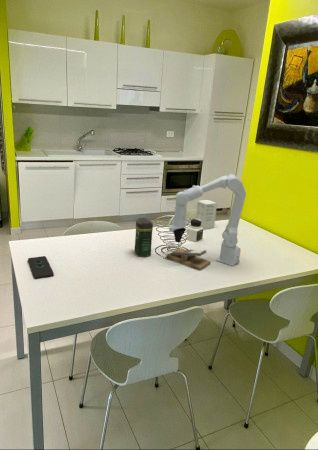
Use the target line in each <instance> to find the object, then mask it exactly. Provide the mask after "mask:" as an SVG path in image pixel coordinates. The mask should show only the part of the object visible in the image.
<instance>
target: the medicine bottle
mask: <svg viewBox="0 0 318 450" xmlns="http://www.w3.org/2000/svg"><path fill="white" fill-rule="evenodd" d="M190 229H191V231H190ZM187 231H189V232H187ZM186 235H189V236H188V238H187V239H186V240H189V241H191V242H194V243H197V242H199V241H201V240H203V236H204V229H203V228H202V227H201V220H199V219H196V218H192V219H190V225H189V226H187V228H186Z"/></svg>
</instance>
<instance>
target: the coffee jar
mask: <svg viewBox="0 0 318 450" xmlns="http://www.w3.org/2000/svg"><path fill="white" fill-rule="evenodd" d="M153 229H154V223H153V222H152V220H150V219H148V218H147V217H138V218H137V219H136V221H135V236H134V237H135V238H134V239H135V240H134V253H135V254H136V255H137V256H138V257H142V258H143V257H144V258H145V257H149V256H151V254H152V242H153V240H152V239H153Z"/></svg>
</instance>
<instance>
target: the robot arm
mask: <svg viewBox="0 0 318 450" xmlns="http://www.w3.org/2000/svg"><path fill="white" fill-rule="evenodd" d="M218 188H221V189H227V188H228V189H229V190H230V191H232V192H233V194H234V198H233V201H232V206H231V211H230V214H229V218H228V222H227V225H226V226H225V229H224V230H223V231H222V233H221V234H222V235H221V236H222V239H223V240H222V241H221V244H220V245H221V246H220V254H219V257H218V258H216V261H217V262H219V263H222V264H225V265H227V266H232V267H234V266H235V265H237V264H238V263H239V262H240V257H241V247H239V246H238V245H237V244H238V242H239V241H238V235H239V234H238V228H239V227H238V226H239V224H240V220H241V215H242V211H243V208H244V203H245V201H246V196H247V192H246V189H245V186H244V184H243V182H242V181H241V179H240V178H238V176H237V175H236V174H234V173H228V174H227V175H222V176H220V177H218V178H216V179H214V180H212V181H210V182H208V183H206V184H204V185H202V186H200V185H195V184H193V185H192V187H190V188H188V189H184V190H183V191H178V192H177V193H176V195H175V206H174V217H173V221H172V222H171V226H170V227H169V228H168V231H169V232H171V233H173V236H174V239H175V240H174V241H175V243H181V241H182V237H183V235H184V233H185V232H187V228H186V227H189V226H190V225H189V223H190V222H189V221H187V220H186V219H187V217H186V216H187V210H188V208H187V207H188V206H187V204H188V203H189V202H191V201H194V200H196V199H197V200H198V199H199V198H201V197H202V196H203V195H204V193H208V192H210V191H213V190H215V189H218Z"/></svg>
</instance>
